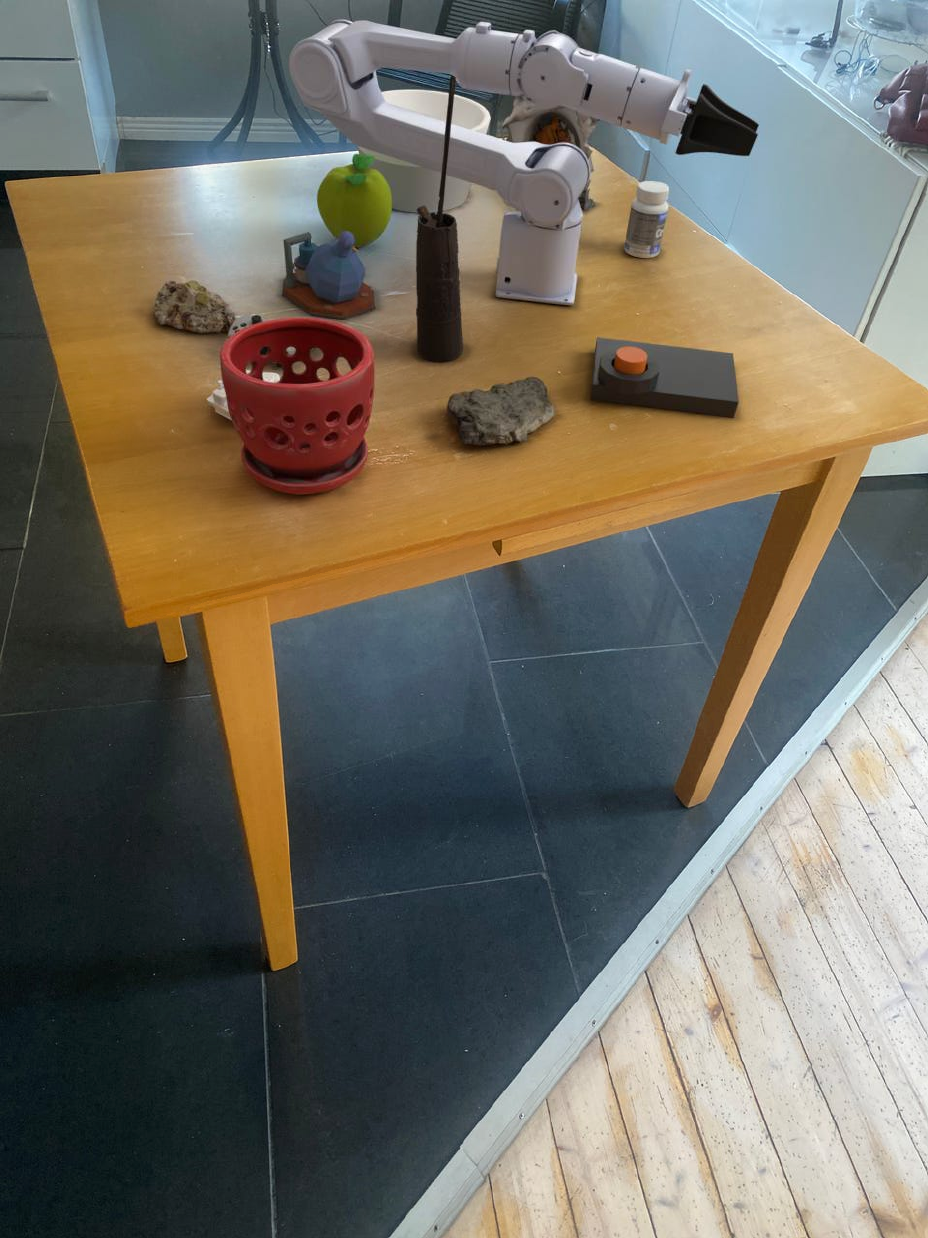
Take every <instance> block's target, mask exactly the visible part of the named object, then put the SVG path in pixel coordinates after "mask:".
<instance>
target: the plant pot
mask: <svg viewBox="0 0 928 1238" xmlns="http://www.w3.org/2000/svg"><path fill="white" fill-rule="evenodd" d="M263 347H268V352H267V353H266V354H265V355H262V354H260V350H261V349H262V348H263ZM288 347H294V348H295V350H296V352H295V353H294V354H292V355H288V354H286V349H287V348H288ZM313 348H315V349H318V350H320V351H321V352H322V358H321V359H315V358H313V357H312V355H311V351H310V350H311V349H313ZM339 358H342V359H344V360H345V361H346V363H347V364H348V366H349V368H350V371H348V372H347V373H345V374H343V375H342V374H341V373H340V371H339V370H338V366H337V363H338V359H339ZM219 361H220V362H219V364H220V365H219V366H220V373H221V374H220V375H221V376H222V378H221V381H222V380H223V385H224V389H225V394H226V398H227V405H228V410H229V413H230V417H231V419H232V420H231V422H232V424H233V427H234V429H235V431H236V433H237V435H238V437H239V439H240V440H241V442H242V446H241V450H240V458H241V463H242V464H243V467H244V468H245V470H246V471H247V473H248V474H249V475H250V476H251V477H252V478H253V479H254V480H255V481H257V482H259V483H260V484H262V485H263V486H265V487H267V488H269V489H271V490H274V491H277V492H281V493H285V494H292V495H311V494H316V495H317V494H320V493H324V492H329V491H331V490H335V489H337V488H340V487H342V486H344V485H345V484H347V483H348V482H350V481H352V480H353V479H354V478H355V477H356V476H357V475H358V474H360V472H362V470H363V469H364V467H365V465H366V462H367V459H368V454H369V447H368V446H369V445H368V443H367V440H366V438H365V435H366V432H367V430H368V427H369V424H370V420H371V418H372V417H371V416H372V410H373V404H374V397H375V352H374V348H373V346H372V344H371V342H370V341H369V339H368V338H367V337H366V336H365V335H364V334H363V333H362V332H360V331H358V330H357V329H355V328H353V327H351V326H349V325H346V324H344V323H341V322H338V321H335V320H334V321H333V320H329V319H324V318H317V317H297V316H296V317H295V316H292V317H291V316H290V317H281V318H275V319H269V321H264V322H260V323H256V324H253V325H251V326H248V327H246V328H244V329H242V330H240V331H238V332H236V333H235V334H233V335H232V336H231V337H230V338H229V339H228V338H227V340H226V341H225V342H224V343H223V345H222V347H221V349H220V352H219ZM249 362H251V364H252V365H251V369H250V371H251V372H250V373H249V374H247V373H246V370H247V365H248V363H249ZM298 362H300V363H303V364H304V365H305V370H304V371H302V372H295V370H294V369H293V365H294V364H295V363H298ZM276 363H278V364H280V365H281V367H280V368H281V369H282V376H281V377H280V380H279V381H278V382H276V383H273V382H267V381H264V380H263V376H262V373H263V372H264V369H266V367H267V366H268V365H271V364H276ZM319 369H324V370H326V371H327V372H328V374H329V376H328V379H326V380H323V379H321V378H320V377H319V376H318V370H319Z"/></svg>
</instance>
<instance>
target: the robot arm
mask: <svg viewBox="0 0 928 1238" xmlns="http://www.w3.org/2000/svg"><path fill="white" fill-rule="evenodd" d="M535 34H536V33H535V30H531V29H525V30H524V31H523V32H522V33H515V32H509V31H501V30H493V29H492V23H491V22H487V21H486V22H485V21H479V22H478V23H477V24H476V25H475V27H466V28H465V29H464V30H463V31H462V32H461V33H460V34H459V35H458V36H457V38H455V37H454V38H453V37H448V36H444V35H437V34H434V33H429V32H423V31H417V30H413V29H407V28H402V27H397V26H392V25H386V24H381V23H377V22H373V21H369V20H366V19H365V20H364V19H363V20H355V21H351V20H348V19H336V20H333V21H331V22H329V24H327V26H325V28H323V29H321V30H320V31H318V32H317V33H315V34H313V35H312V36H309V37H307V38H304V39H302V40H300V41H298V42H297V43H296V44H295V45H294V46H293V48H292V49H291V52H290V54H289V59H288V70H289V75H290V79H291V81H292V84H293V86H294V87H295V89H296V92H297V94H298V95H299V97H300V99H301V102H302V104H303V105H304V107H306V108H308V109H310V110H313V111H315V112H318V113H320V114H321V115H322V116H323V117H324V118H325V119H326V120H327V121H328V122H329V123H331V124H332V126H334V127H335V129H337V130H338V131H339V132H340V133H341V134H343V136H344V137H345V138H347V139H348V140H349V141H350V142H351V143H352V144H353V145H355V146H356V147H357V146H359V147H362V148H365V149H368V150H371V151H375V152H378V153H381V154H384V155H387V156H390V157H393V158H396V159H399V160H402V161H405V162H409V163H412V164H415V165H418V166H421V167H424V168H427V169H430V170H433V171H436V172H439V173H442V163H443V155H444V142H445V127H446V122H445V121H442V120H439V119H436V118H433V117H430V116H427V115H423V114H420V113H417V112H414V111H411V110H408V109H405V108H401V107H398V106H395V105H392V104H389V103H387V102H386V101H385V99H384V97H383V95H382V93H381V92H382V90H381V88H380V86H379V82H378V77H377V72H376V71H378V70H379V69H395V70H405V71H418V72H427V73H428V72H429V73H437V74H438V73H440V74H450V75H451V76H452V75H454V76H455V77H456V83H457V84H458V85H459V87H461V88H462V89H465V90H472V91H479V92H485V93H491V94H498V95H505V96H510V97H511V96H512V97H513V96H519V95H520V94H524V95H525V96H526V97H527V98H530V99H531V102H533V103H535V107H536V108H538V109H550V108H553V107H555V106H557V105H561V106H564V107H567V108H570V109H572V110H575V111H578V112H580V113H582V114H585V115H588V116H591V117H594V118H597V119H600V121H603V122H606V123H607V124H608V123H609V124H611V125H614V126H617V127H621V128H623V129H625V130H628V131H632V132H633V133H638V134H640V135H643V136H646V137H649V138H652V139H655V140H658V141H659V143H660V144H663V145H668V143H669V141H670V139H671V137H672V136H675V137H680V139H679V141H678V143H677V146H676V149H675V154H676V155H677V156H685V155H689V154H698V153H714V154H723V155H728V156H729V155H730V156H736V157H737V156H738V157H750V155H751V152H752V150H753V148H754V147H755V146H754V145H755V143H756V141H757V138H758V133H757V131H758V129H759V126H760V124H759V123H757V121H756V120H754V119H752V118H751V117H749V115H745V114H744V113H742V112H741V111H739V110H737V109H736V108H733V106H730V105H729V104H728V103H726V102H725V101H724V100H722V98H720V97H719V96H718V95H717V94H716V93H715V92H714V91H713V90H712V89H711V87H710V86H709V85H708V84H705V83H703V84H702V86H701V88H700V91H699V94H698V96H697V99H696V98H692V97H690V96H688V90H689V85H690V79H691V75H692V72H693V70H692V69H689V68H686V69H684V70H683V71H684V72H683V74H682V77H681V80H679V79H676V78H673V77H670V76H667V75H665V74H662V73H658V72H655V71H652V70H649V69H646V68H643V67H640V66H637V65H635V64H632V63H629V62H626V61H623V60H620V59H617V58H614V57H612V56H608V55H606V54H602V53H597V52H593V51H591V50H588V49H584V48H581V47H579V46H578V44H577V43H576V41H575V40H574V39H573V38H572V37H570V36H569V35H567V34H566V33H565V34H564V33H562V32H559V31H557V30H555V29H553V30H549V31H546V32H545V33H542V34H541V35H539V37H537V38H536V35H535ZM505 140H506V139H505ZM505 140H503V139H502V138H498V137H495V136H492V135H489V134H487V133H486V134H483V133H480V132H477V131H474V130H471V129H467V128H464V127H461V126H458V125H455V124H452V123H451V132H450V141H449V150H448V160H447V169H446V175H449V176H452V177H455V178H458V179H461V180H464V181H467V182H470V183H471V184H474V185H476V186H480V187H483V188H487V189H489V190H492V191H496V192H497V194H499V196H500V198H501V199H502V201H503V203H504V205H506V206H507V207H509V208H513V210H511V209H510V210H509V209H508V210H505V211H504V214H503V217H502V224H501V232H500V239H499V240H500V241H499V250H498V251H499V253H498V258H497V261H496V269H495V270H496V271H495V272H496V274H497V276H496V287H495V288H496V289H495V296H496V297H497V298H502V299H512V300H519V301H521V300H522V301H529V302H536V303H544V304H555V305H562V306H573V305H574V304H575V298H576V291H577V283H578V273H576V266H577V261H578V260H577V259H578V252H579V246H580V245H579V244H580V239H581V231H582V225H583V217H584V212H583V210H582V208H581V207H582V206H581V205H580V204H579V200H578V197H579V196H580V194H581V193H582V192H583V190H584V189H585V188H586V186H587V184H588V182H589V180H591V178H590V177H591V173H590V164H589V161H588V159H587V157H586V155H585V154H584V152H583V151H582V150H581V149H580V148H578V147H577V146H575V145H573V144H570V143H565V142H564V143H557V144H552V145H545V144H541V143H538V142H522V143H511V142H508V141H505Z"/></svg>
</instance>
